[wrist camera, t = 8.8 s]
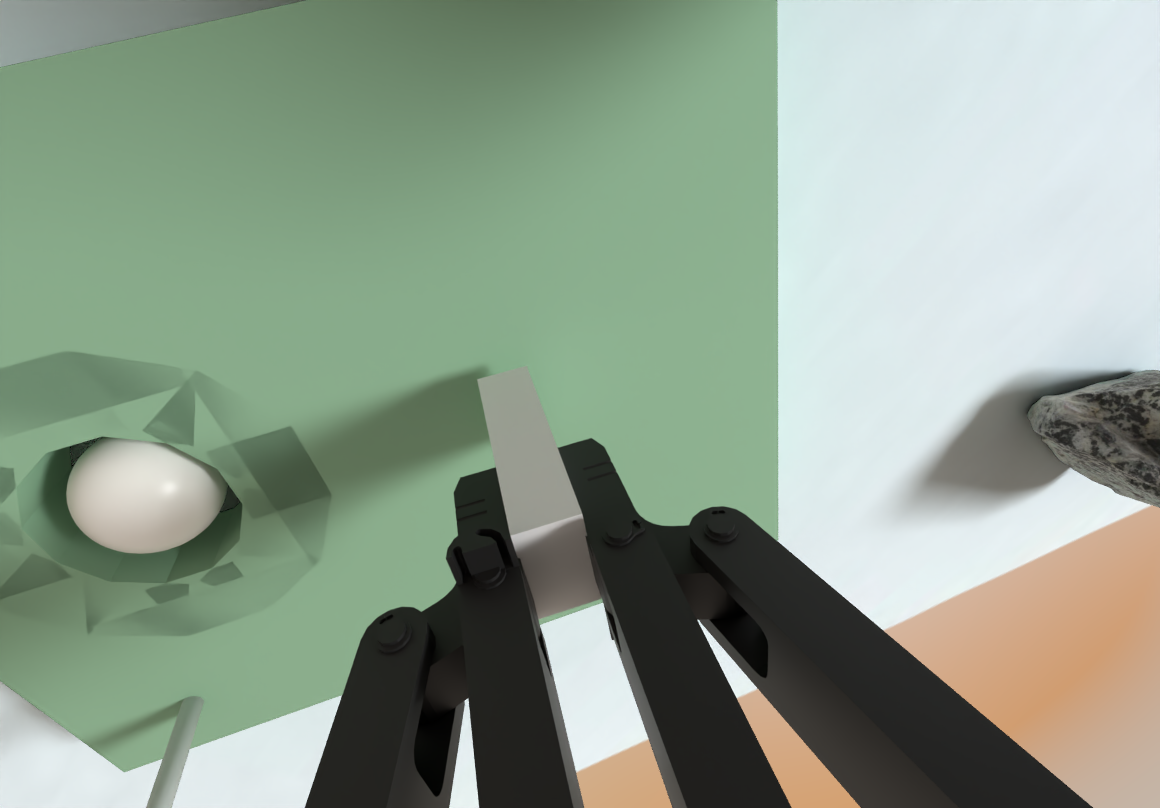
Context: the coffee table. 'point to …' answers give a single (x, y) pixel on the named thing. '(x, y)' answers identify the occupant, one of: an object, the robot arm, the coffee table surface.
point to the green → (362, 319)
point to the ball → (142, 495)
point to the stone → (1108, 433)
